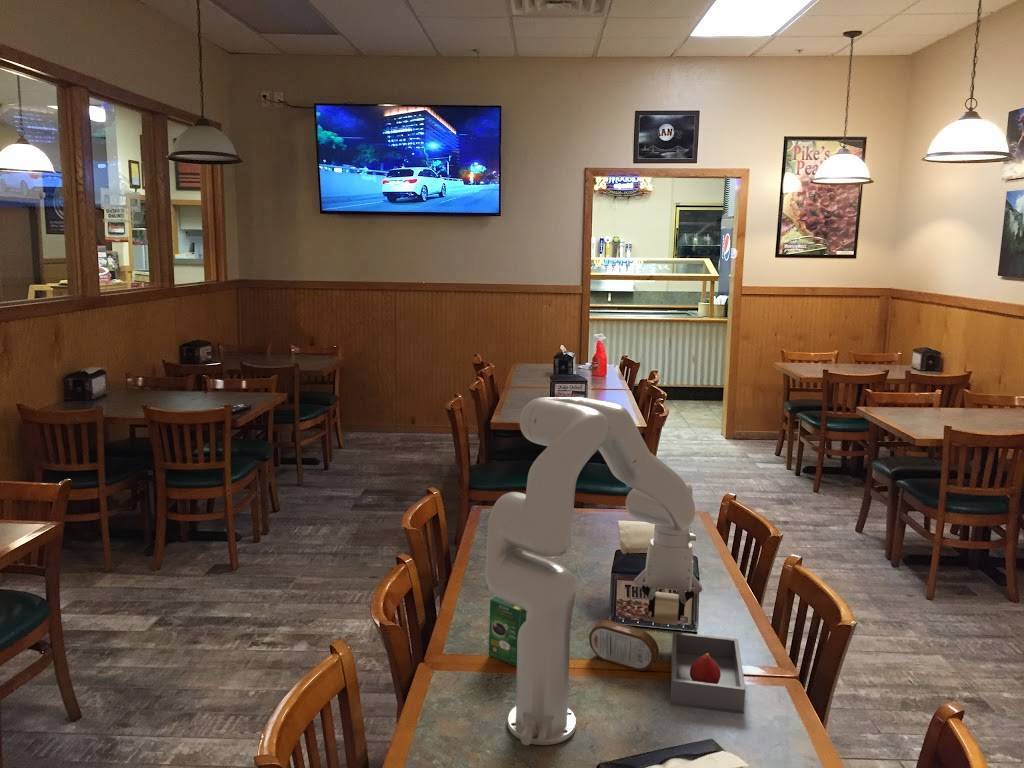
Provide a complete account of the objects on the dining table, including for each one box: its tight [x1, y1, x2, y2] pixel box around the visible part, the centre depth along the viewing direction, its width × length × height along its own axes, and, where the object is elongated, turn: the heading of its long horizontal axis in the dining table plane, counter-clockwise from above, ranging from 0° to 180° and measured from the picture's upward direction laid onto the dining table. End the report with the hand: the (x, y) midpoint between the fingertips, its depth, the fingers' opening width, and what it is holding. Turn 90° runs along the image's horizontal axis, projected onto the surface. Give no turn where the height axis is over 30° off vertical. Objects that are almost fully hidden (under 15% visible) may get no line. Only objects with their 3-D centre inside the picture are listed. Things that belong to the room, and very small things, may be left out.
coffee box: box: [488, 596, 527, 668], centre depth 168 cm, size 8×3×13 cm, turn 54°
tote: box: [670, 631, 746, 715], centre depth 161 cm, size 20×14×5 cm
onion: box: [690, 653, 721, 684], centre depth 157 cm, size 6×6×8 cm
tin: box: [588, 619, 660, 672], centre depth 167 cm, size 15×3×8 cm, turn 59°
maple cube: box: [653, 591, 680, 626], centre depth 175 cm, size 5×5×5 cm
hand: (665, 615), depth 175 cm, fingers closed on maple cube, 5 cm apart
